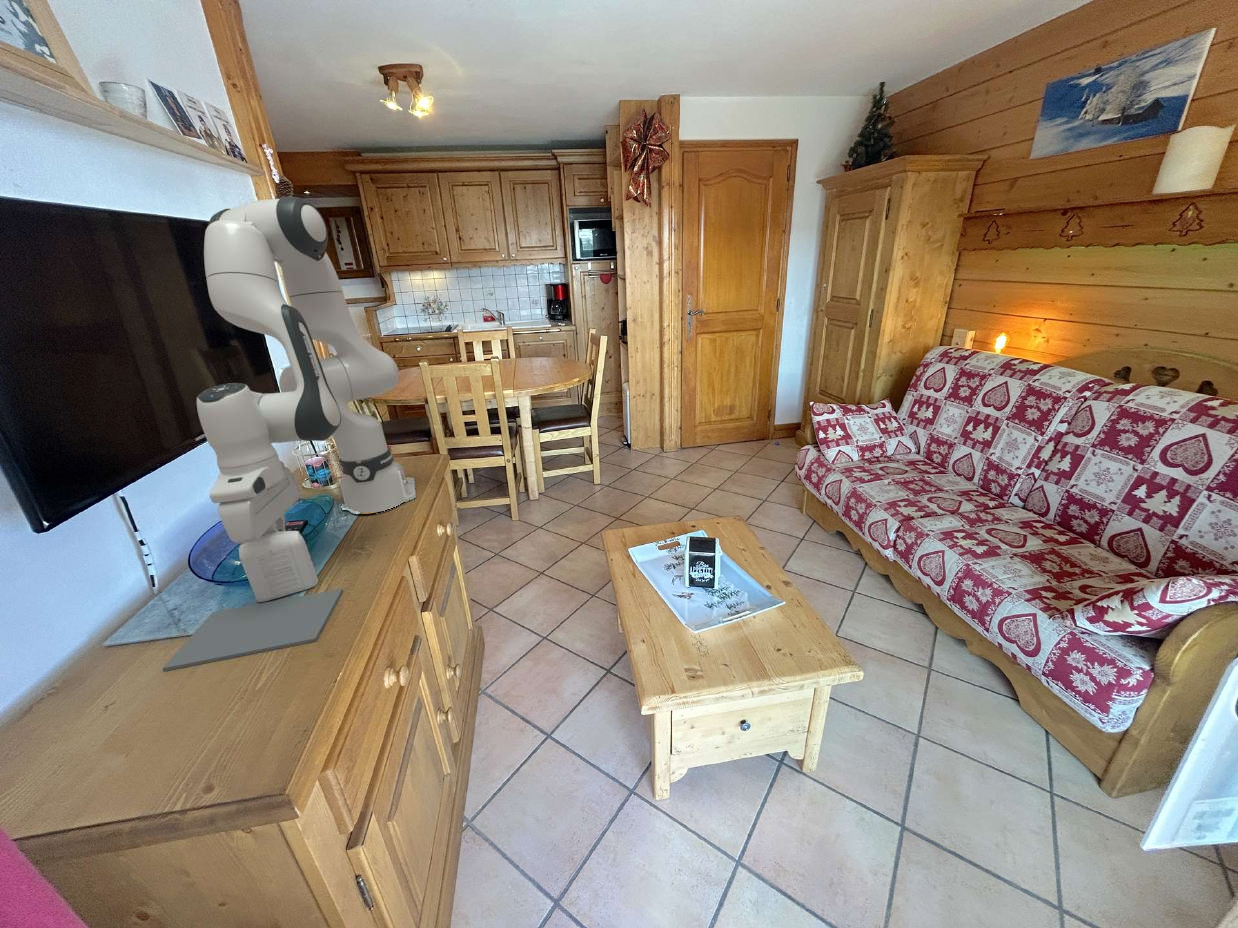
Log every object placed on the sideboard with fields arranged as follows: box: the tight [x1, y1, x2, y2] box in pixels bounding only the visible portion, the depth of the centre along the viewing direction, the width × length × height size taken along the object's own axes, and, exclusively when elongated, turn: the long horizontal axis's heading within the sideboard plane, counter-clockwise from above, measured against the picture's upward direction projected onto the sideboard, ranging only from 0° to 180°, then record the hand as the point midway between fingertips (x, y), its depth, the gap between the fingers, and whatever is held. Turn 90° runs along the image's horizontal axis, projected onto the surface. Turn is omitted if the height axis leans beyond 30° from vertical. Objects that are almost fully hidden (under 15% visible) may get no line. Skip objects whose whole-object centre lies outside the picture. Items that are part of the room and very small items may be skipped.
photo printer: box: [238, 530, 319, 603], centre depth 91 cm, size 10×4×12 cm, turn 119°
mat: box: [162, 588, 344, 672], centre depth 83 cm, size 14×22×1 cm, turn 102°
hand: (279, 539), depth 93 cm, fingers closed
